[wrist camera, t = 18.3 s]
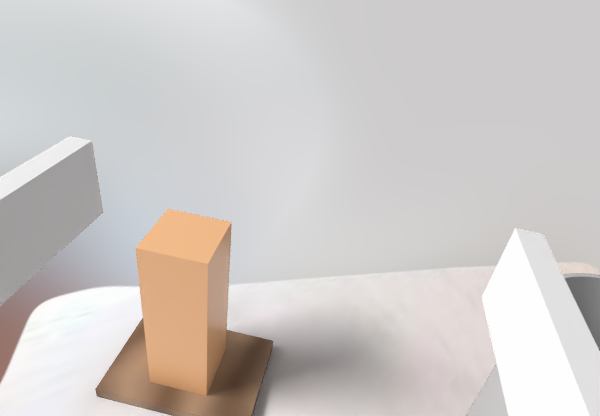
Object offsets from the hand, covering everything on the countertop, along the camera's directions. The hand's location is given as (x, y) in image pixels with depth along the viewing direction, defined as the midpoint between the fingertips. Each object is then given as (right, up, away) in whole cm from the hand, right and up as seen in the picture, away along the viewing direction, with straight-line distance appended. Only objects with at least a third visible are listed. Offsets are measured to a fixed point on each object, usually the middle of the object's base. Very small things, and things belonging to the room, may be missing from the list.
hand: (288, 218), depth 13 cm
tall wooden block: (-12, -17, +34) cm, 40 cm away
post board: (-12, -18, +35) cm, 41 cm away
